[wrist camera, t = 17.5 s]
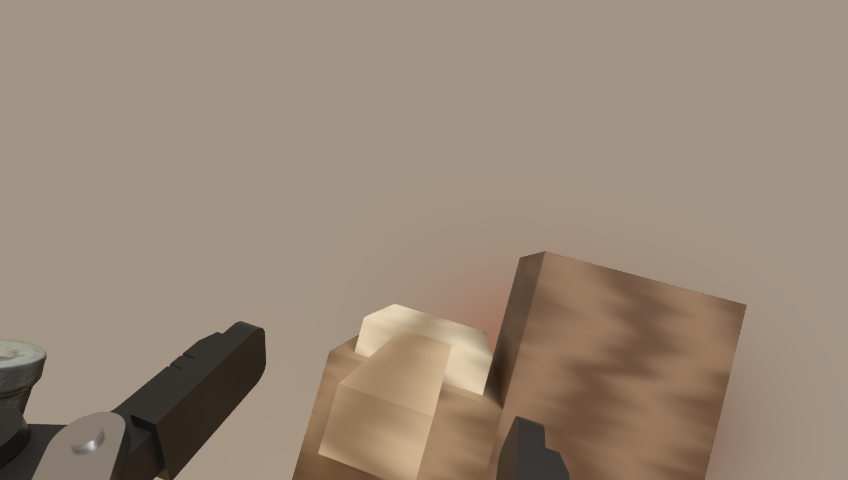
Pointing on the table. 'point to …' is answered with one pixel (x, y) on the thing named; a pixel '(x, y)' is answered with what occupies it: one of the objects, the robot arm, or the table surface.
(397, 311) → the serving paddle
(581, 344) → the block
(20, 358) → the sauce bottle
